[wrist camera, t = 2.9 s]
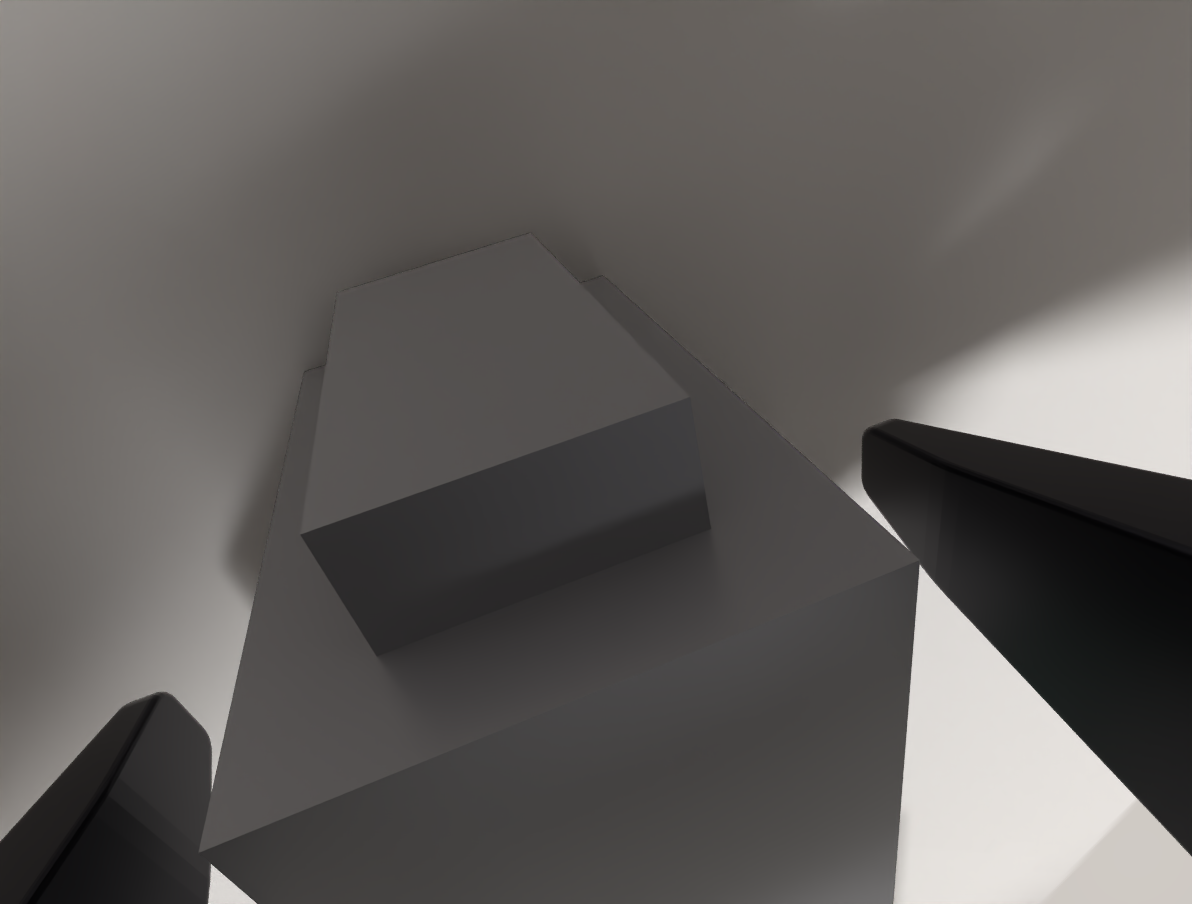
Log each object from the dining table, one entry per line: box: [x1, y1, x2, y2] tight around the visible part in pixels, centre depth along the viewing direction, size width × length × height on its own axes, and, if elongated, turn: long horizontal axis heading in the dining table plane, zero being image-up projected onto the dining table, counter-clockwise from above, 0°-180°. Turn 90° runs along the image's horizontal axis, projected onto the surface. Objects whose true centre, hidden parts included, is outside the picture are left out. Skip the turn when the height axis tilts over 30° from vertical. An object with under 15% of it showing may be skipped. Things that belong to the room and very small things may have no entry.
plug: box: [198, 233, 920, 904], centre depth 7 cm, size 4×7×6 cm, turn 13°
